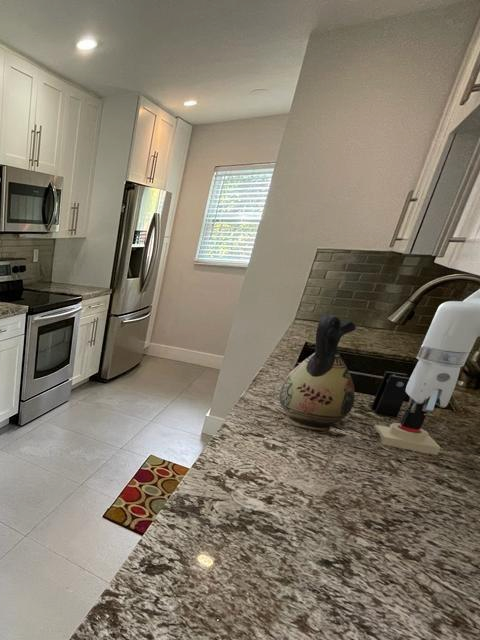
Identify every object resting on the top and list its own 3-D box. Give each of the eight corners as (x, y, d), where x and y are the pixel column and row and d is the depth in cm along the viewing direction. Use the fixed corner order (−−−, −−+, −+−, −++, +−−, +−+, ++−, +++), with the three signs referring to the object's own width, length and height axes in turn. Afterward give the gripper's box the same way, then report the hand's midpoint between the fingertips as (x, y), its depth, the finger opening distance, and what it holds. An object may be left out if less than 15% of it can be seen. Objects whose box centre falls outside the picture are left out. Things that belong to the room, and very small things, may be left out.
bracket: (403, 415, 119) (422, 374, 114) (416, 428, 111) (436, 384, 106) (350, 406, 124) (365, 366, 120) (358, 418, 116) (375, 376, 112)
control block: (424, 441, 104) (430, 427, 102) (437, 455, 97) (444, 440, 96) (372, 431, 109) (377, 418, 107) (381, 444, 102) (387, 430, 101)
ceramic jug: (291, 408, 122) (324, 308, 112) (354, 430, 109) (398, 319, 98) (256, 417, 116) (287, 312, 105) (318, 442, 103) (361, 325, 92)
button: (414, 432, 102) (417, 425, 102) (420, 437, 100) (423, 431, 99) (395, 428, 104) (397, 422, 104) (400, 434, 101) (402, 427, 101)
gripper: (481, 367, 87) (443, 443, 94) (450, 350, 99) (419, 419, 106) (432, 361, 90) (399, 434, 97) (408, 346, 102) (380, 412, 109)
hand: (409, 426), depth 101 cm, fingers closed
